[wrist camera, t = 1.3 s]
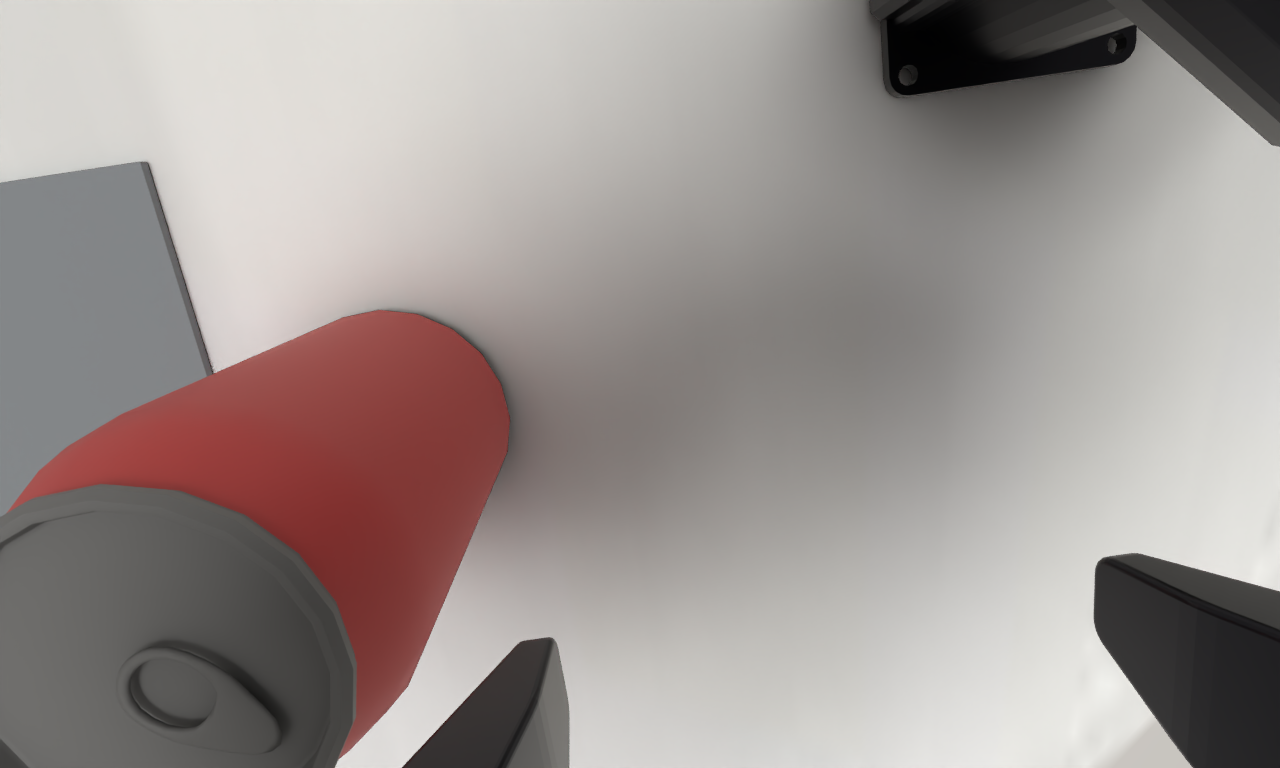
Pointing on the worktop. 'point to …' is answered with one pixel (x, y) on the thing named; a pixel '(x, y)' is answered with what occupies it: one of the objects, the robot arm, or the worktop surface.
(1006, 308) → the worktop surface
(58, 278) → the mat
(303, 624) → the beer can
